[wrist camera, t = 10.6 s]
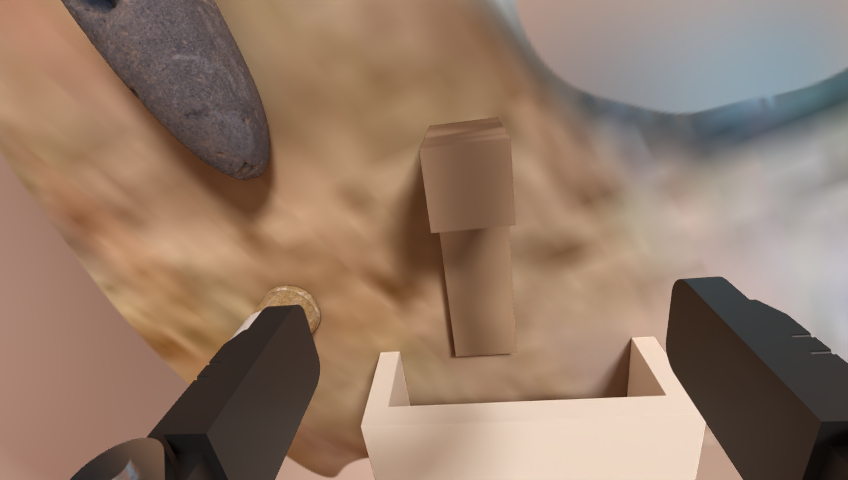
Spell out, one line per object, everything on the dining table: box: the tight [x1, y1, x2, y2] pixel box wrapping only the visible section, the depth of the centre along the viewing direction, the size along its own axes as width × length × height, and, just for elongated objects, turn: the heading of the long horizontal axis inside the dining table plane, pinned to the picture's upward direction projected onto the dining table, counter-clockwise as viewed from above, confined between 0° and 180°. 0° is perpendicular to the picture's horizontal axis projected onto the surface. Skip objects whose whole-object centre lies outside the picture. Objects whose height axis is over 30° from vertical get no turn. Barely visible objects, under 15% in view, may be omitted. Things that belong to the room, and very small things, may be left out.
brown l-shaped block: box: [419, 117, 517, 357], centre depth 24 cm, size 4×16×7 cm, turn 8°
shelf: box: [361, 336, 706, 480], centre depth 29 cm, size 20×8×7 cm, turn 98°
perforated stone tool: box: [61, 0, 270, 180], centre depth 21 cm, size 15×5×7 cm, turn 22°
